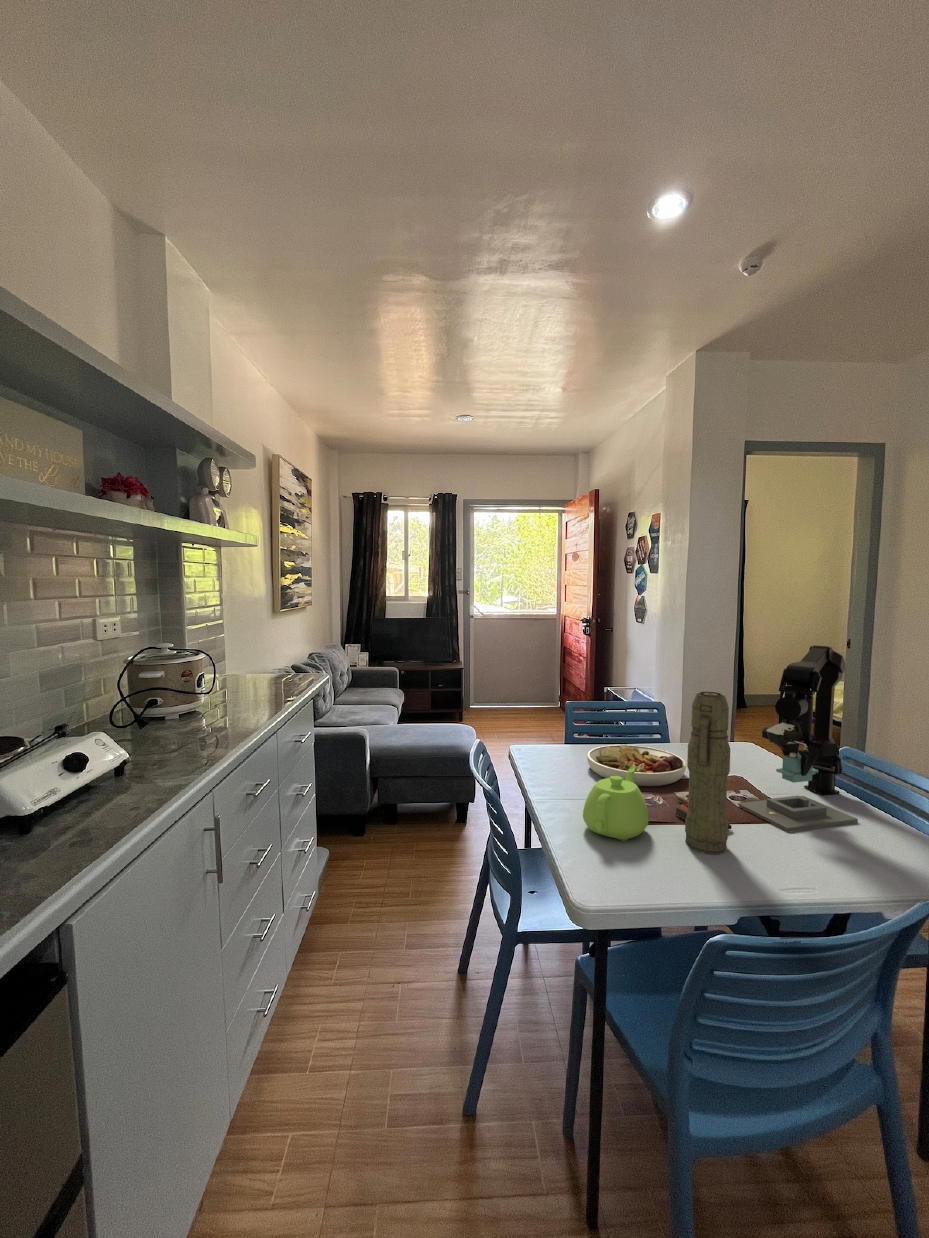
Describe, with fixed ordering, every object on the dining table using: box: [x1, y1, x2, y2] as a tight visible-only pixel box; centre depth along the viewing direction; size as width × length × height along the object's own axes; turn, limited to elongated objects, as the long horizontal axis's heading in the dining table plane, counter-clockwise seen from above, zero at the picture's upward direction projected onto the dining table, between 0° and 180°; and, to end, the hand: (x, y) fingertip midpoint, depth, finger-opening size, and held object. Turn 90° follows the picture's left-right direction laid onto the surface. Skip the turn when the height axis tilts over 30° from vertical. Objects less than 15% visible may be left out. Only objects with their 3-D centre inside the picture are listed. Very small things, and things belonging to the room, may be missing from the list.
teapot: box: [582, 767, 650, 842], centre depth 133 cm, size 22×15×13 cm
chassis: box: [737, 795, 859, 833], centre depth 143 cm, size 22×16×3 cm
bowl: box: [586, 744, 687, 787], centre depth 176 cm, size 30×30×8 cm
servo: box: [775, 753, 819, 784], centre depth 143 cm, size 10×4×7 cm, turn 105°
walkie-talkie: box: [675, 796, 733, 830], centre depth 141 cm, size 9×4×20 cm
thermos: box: [684, 691, 731, 855], centre depth 124 cm, size 9×12×35 cm
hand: (797, 773), depth 143 cm, fingers closed on servo, 3 cm apart
